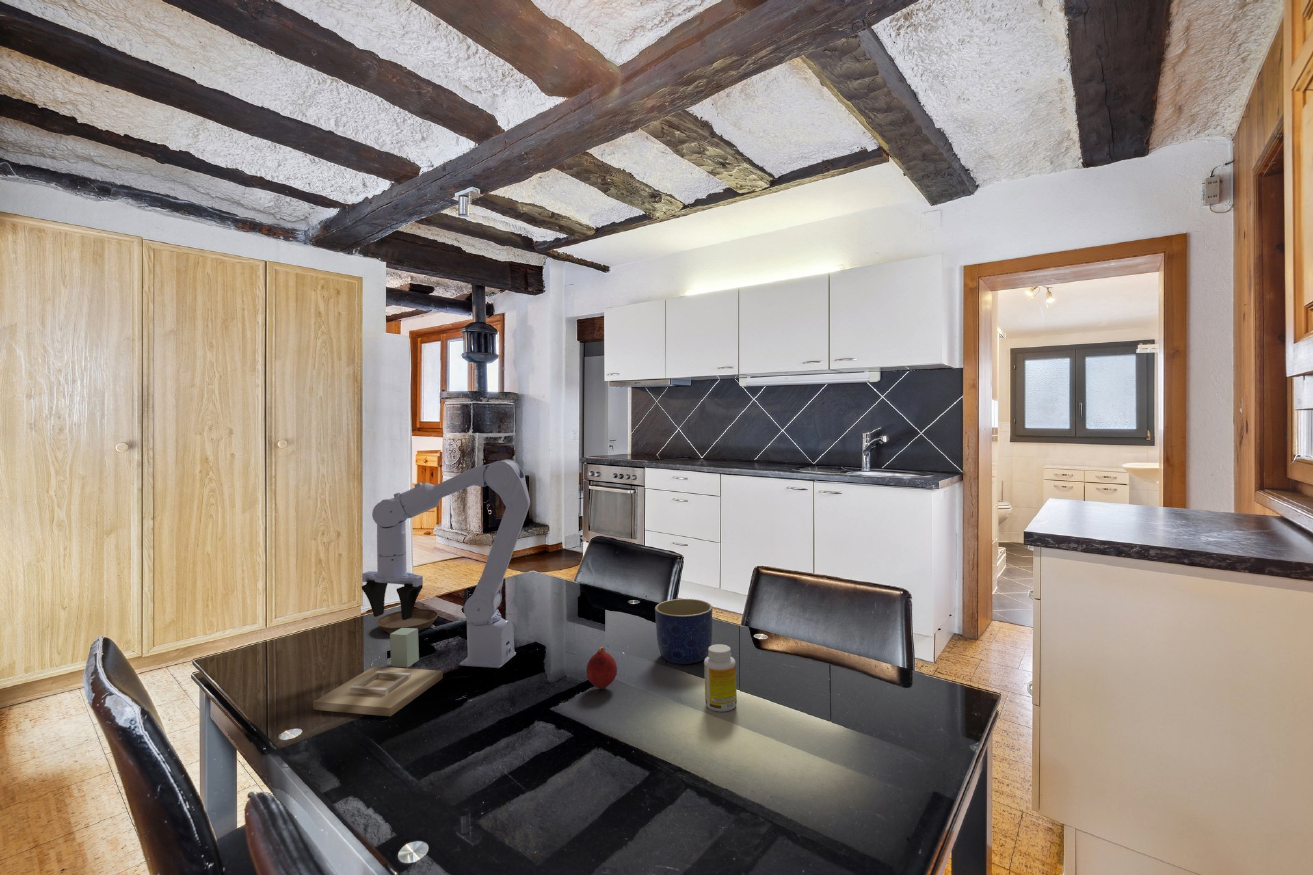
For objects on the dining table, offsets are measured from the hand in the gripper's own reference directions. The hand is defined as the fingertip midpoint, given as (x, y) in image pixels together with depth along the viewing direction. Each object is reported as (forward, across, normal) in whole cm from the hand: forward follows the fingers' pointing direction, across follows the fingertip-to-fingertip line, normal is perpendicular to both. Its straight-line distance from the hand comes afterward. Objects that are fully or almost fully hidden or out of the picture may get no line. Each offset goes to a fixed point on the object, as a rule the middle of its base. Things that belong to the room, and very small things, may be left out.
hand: (392, 616), depth 125 cm
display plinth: (+10, +8, -12) cm, 17 cm away
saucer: (+11, -16, +22) cm, 29 cm away
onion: (+10, +49, +1) cm, 50 cm away
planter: (+10, +60, +20) cm, 64 cm away
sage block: (+11, +2, +2) cm, 11 cm away
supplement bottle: (+10, +72, 0) cm, 73 cm away
